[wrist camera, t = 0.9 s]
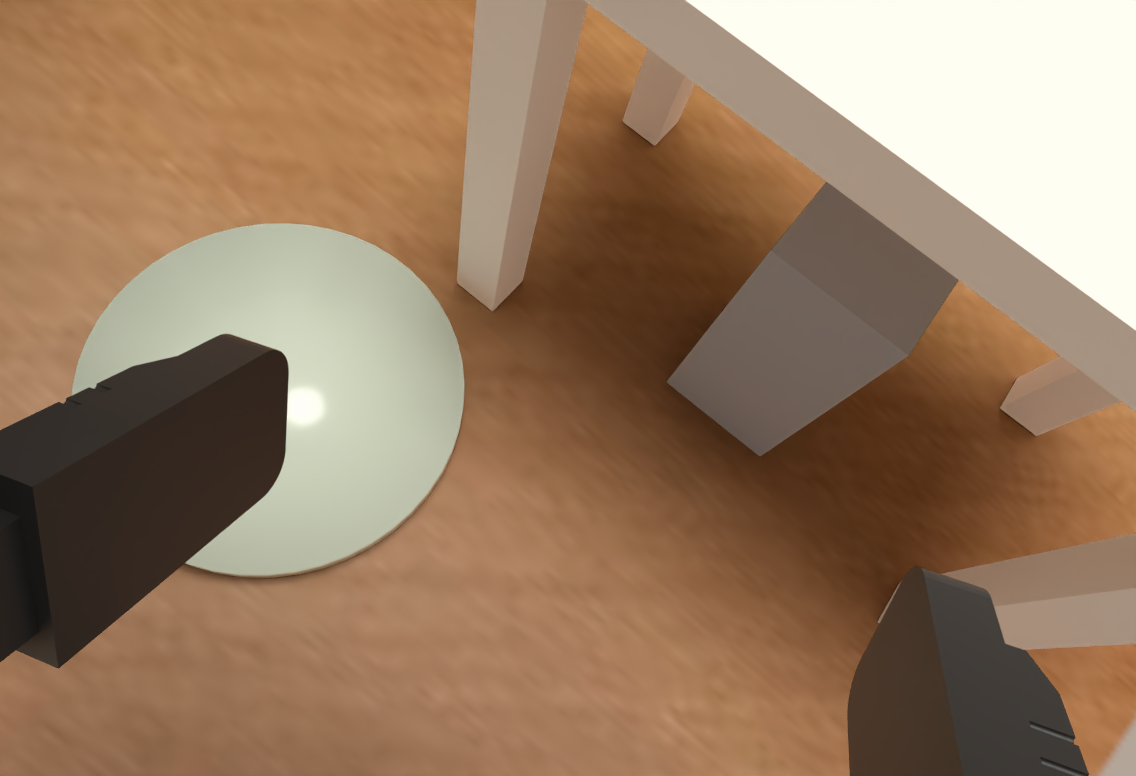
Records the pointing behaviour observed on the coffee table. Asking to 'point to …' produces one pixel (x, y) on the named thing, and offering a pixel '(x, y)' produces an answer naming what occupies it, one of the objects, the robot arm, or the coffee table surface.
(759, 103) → the white step stool
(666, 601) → the coffee table surface
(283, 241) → the plate
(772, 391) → the block
